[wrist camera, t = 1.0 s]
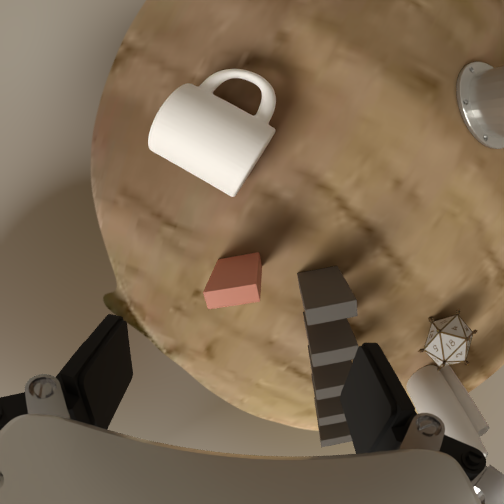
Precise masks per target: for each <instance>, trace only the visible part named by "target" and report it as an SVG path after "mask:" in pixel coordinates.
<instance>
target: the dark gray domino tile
mask: <svg viewBox="0 0 504 504" xmlns="http://www.w3.org/2000/svg"><path fill="white" fill-rule="evenodd" d="M303 315H304V322H305V327H306V332H307V338H308V343H309V348H310V353H311V359H312V364H313V367H317V366H323V365H328V364H333V363H338V362H343V361H347V360H352V359H354V357H355V355H356V352H357V349H358V344H357V341H356V339H355V336H354V334H353V332H352V329H351V327H350V325H349V322H348V320H347V318H345V319H340V320H335V321H330V322H325V323H319V324H314V325H307V320H306V315H305V312H303Z"/></svg>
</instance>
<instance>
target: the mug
mask: <svg viewBox="0 0 504 504" xmlns="http://www.w3.org/2000/svg"><path fill="white" fill-rule="evenodd" d="M231 78H241V79H245V80H248V81H250V82H252V83H254V84H256V85H257V86H258V87H259V88H260V90H261V93H262V99H261V103H260V106H259V109H258V111H257V113H256V115H254V116H253V115H251V114H249V113H247V112H245V111H243V110H242V109H240V108H238V107H236V106H234V105H232V104H231V103H229V102H227V101H225V100H223V99H221V98H219V97H217V96H215V95H213V92H214V90H215V89H216V88H217V87H218V86H219V85H220V84H221V83H223V82H224V81H226V80H228V79H231ZM275 105H276V96H275V92H274V89H273V88H272V86H271V85H270V83H269V82H268V81H267V80H266V79H264V78H263V77H262V76H260V75H258V74H256V73H254V72H251V71H248V70H243V69H226V70H222V71H219V72H216V73H214V74H212V75H211V76H209V77H208V78H207V79H206V80H205V81H204V82H203V83H202V84H201V85H200V86H198V87H197V86H195V85H193V84H189V83H188V84H184V85H182V86H180V87H179V88H177V89H176V90H175V91H174V92H173V93H172V94H171V95H170V96H169V97H168V98H167V99H166V101H165V102H164V103H163V105H162V106H161V108H160V110H159V111H158V113H157V115H156V117H155V119H154V121H153V123H152V126H151V129H150V132H149V137H148V145H149V148H150V150H151V151H153V152H155V153H156V154H158V155H160V156H162V157H164V158H165V159H167V160H169V161H171V162H172V163H174V164H176V165H178V166H179V167H181V168H183V169H185V170H187V171H188V172H190V173H192V174H193V175H195V176H197V177H199V178H200V179H202V180H204V181H206V182H207V183H209V184H211V185H212V186H214V187H216V188H218V189H219V190H221V191H223V192H224V193H226V194H228V195H229V196H231V197H235V196H236V194H237V193H238V191H239V190H240V188H241V187H242V185H243V184H244V182H245V180H246V179H247V177H248V176H249V174H250V173H251V171H252V169H253V168H254V166H255V165H256V163H257V161H258V160H259V158H260V156H261V155H262V153H263V152H264V150H265V148H266V147H267V145H268V144H269V142H270V140H271V139H272V137H273V135H274V133H275V128H273V127H271V126H270V125H269V121H270V119H271V117H272V115H273V112H274V109H275Z"/></svg>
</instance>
